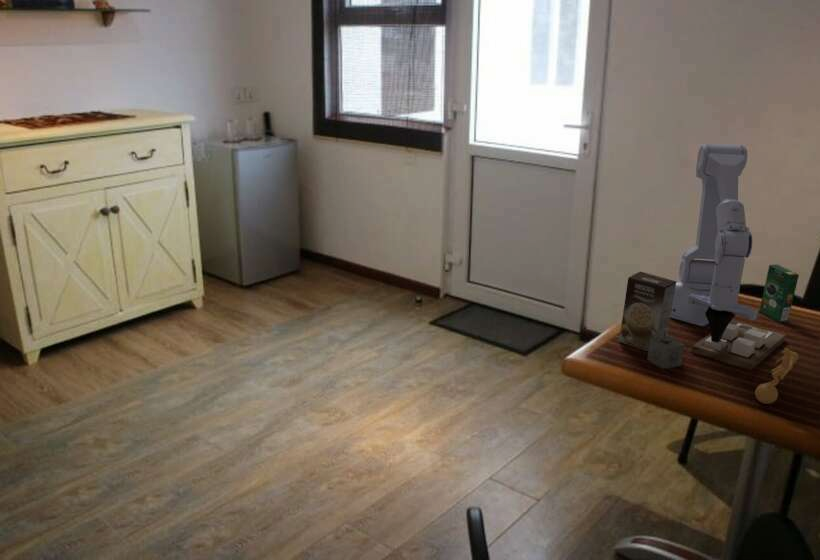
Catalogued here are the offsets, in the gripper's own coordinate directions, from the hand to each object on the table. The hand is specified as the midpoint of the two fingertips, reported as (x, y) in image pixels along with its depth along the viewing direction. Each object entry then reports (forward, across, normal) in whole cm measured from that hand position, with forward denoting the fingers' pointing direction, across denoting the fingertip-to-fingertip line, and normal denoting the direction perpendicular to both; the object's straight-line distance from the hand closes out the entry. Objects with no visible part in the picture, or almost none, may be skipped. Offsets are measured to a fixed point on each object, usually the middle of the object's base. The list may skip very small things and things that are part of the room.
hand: (715, 340), depth 164 cm
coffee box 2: (+3, +2, +34) cm, 34 cm away
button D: (+1, +6, 0) cm, 6 cm away
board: (+3, +3, +8) cm, 9 cm away
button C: (+2, 0, 0) cm, 2 cm away
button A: (+1, 0, +7) cm, 7 cm away
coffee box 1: (+3, -14, -8) cm, 16 cm away
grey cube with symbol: (+3, -6, -14) cm, 15 cm away
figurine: (+3, +18, -17) cm, 25 cm away
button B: (+1, +6, +7) cm, 9 cm away
